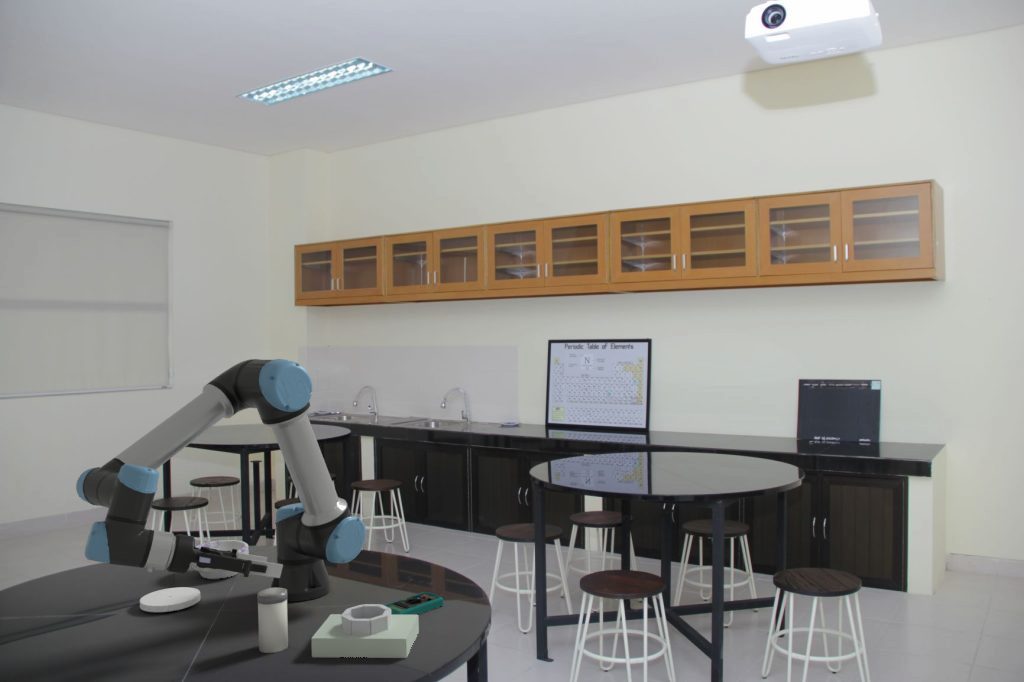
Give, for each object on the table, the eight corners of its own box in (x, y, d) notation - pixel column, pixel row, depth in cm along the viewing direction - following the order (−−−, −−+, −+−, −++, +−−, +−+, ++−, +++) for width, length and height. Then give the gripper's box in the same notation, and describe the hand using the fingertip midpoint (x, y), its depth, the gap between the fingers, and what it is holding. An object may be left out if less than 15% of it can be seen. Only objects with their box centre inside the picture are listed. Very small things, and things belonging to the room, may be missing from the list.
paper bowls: (238, 582, 219) (237, 553, 219) (182, 583, 219) (181, 554, 219) (256, 566, 234) (255, 538, 234) (204, 566, 235) (203, 539, 235)
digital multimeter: (445, 607, 198) (445, 595, 198) (398, 624, 187) (398, 611, 187) (426, 601, 203) (425, 589, 203) (379, 617, 192) (378, 605, 192)
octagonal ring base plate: (331, 631, 182) (330, 601, 182) (418, 632, 181) (418, 601, 181) (311, 657, 168) (311, 623, 168) (406, 658, 167) (405, 624, 167)
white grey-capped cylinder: (264, 641, 177) (263, 587, 177) (292, 641, 177) (291, 587, 177) (254, 653, 171) (252, 596, 171) (282, 653, 171) (281, 596, 170)
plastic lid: (176, 593, 212) (176, 584, 212) (212, 602, 205) (212, 592, 205) (127, 610, 200) (127, 600, 200) (163, 620, 193) (163, 609, 193)
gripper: (157, 563, 174) (255, 577, 183) (173, 579, 152) (283, 593, 162) (167, 528, 175) (264, 544, 185) (184, 539, 154) (292, 555, 164)
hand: (273, 567), depth 173 cm, fingers open, 13 cm apart
